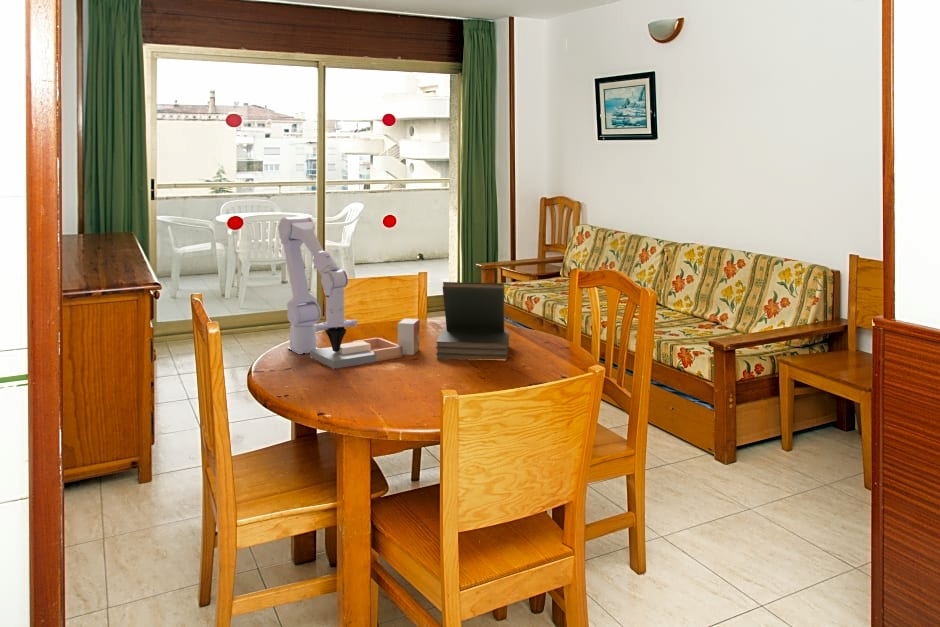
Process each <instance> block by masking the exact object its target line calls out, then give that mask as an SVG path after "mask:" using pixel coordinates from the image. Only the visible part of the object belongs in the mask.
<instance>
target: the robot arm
mask: <svg viewBox="0 0 940 627" xmlns="http://www.w3.org/2000/svg"><path fill="white" fill-rule="evenodd" d="M277 228H278V229H277V230H278V234H279V239H280V243H281V244H282V245H283V251H284V256H285V261H286V267H287V271H288V276H289V277H288V278H289V282H290V287H291V292H292V297H291V298H290V300H289V301H287V303H286V306H287V311H286V316H287V320H288V322H289V323H290V324H291V325H290V327H289V346H288V347H287V350H289V349H290V350H289V351H291V350H292V351H291V352H293V353H296V354H298V355H304V354H303V353H305V354H310V350H314V349H320V348H319V347H317V332H321V331H325V334H326V335H327V337H328V340H329V342H330V344H331V347H332V350H333V351H335V352H338V351H339V349H340V345H341V344H342V341H343V339H344V337H345V335H346V333H347V329H346V328H348V327H349V328H351V327H358V320H357V319H353V318H352V319H345V318H346V317H345V288H346V287H347V285H348V282H349V277H348V274H347V272H346V270H344V269H342V268H340V267H339V266H338V265H337V264H336V262H335V260H334V259H333V257H332V256H331V254H330V253H329V251H324V249H323V247H322V245H321V243H320V241H319V239H318V237H317V235H316V233H315V229H316V228H315V223H314V221H313V219H312V218H311V217H310V216H309V215H304V216H293V217H292V216H291V217H286V216H285V217H284V216H283V217H282V218H281V219H280V221H279V223H278V225H277ZM302 244H304V245H305V247H306V248H307V249H308V250H309V252H310V253H311V255H312V256H313V257H312V263H313V264H314V266H315V268H316V269H317V271H318V273H319V275H320V276H321V279H320V281H321V286H322V289H323V294H324V295H325V321H324V322H320V323H318V322H319V321H320V319H321V316H322V311H321V307H320V305H319V303H318V300H317V297H315V296H314V295H312V294H311V293H310V291H309V284H308V281H307V275H306V270H305V266H304V265H305V264H304V260H303V254H302V249H301V247H302Z"/></svg>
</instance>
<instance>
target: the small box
mask: <svg viewBox="0 0 940 627" xmlns="http://www.w3.org/2000/svg"><path fill="white" fill-rule="evenodd" d="M420 321H421V320H420V319H419V318H403V319H402V320H400V321H399V322H398V323H397V345H400V346H402V351H403V355H407V356H408V355H411V356H414V355H415V354H416V353H417V352H418V351H419V350H420Z"/></svg>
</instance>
